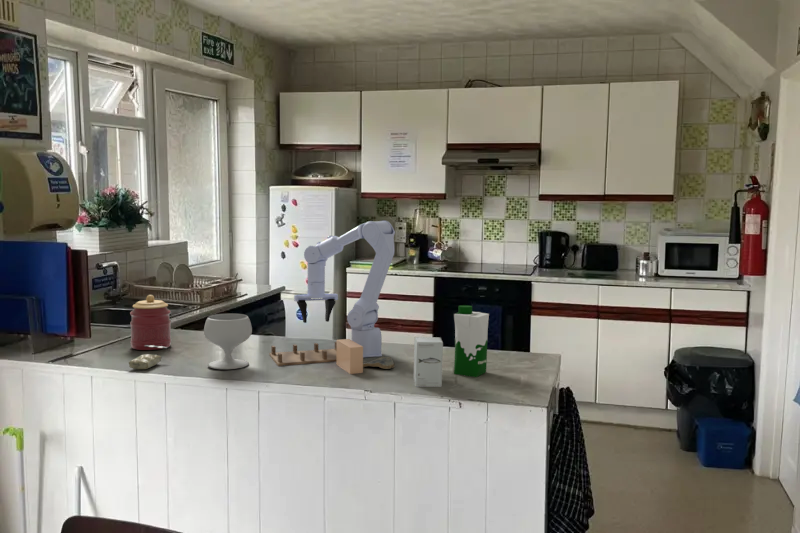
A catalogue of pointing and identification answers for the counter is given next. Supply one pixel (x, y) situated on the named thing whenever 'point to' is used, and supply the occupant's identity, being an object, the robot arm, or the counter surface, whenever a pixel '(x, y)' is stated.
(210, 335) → the chalice
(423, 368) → the supplement box
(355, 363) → the tan rectangular block
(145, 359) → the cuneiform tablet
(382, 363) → the ceramic fragment
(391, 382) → the counter surface
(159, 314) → the canister
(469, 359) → the milk carton
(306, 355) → the comb rack
